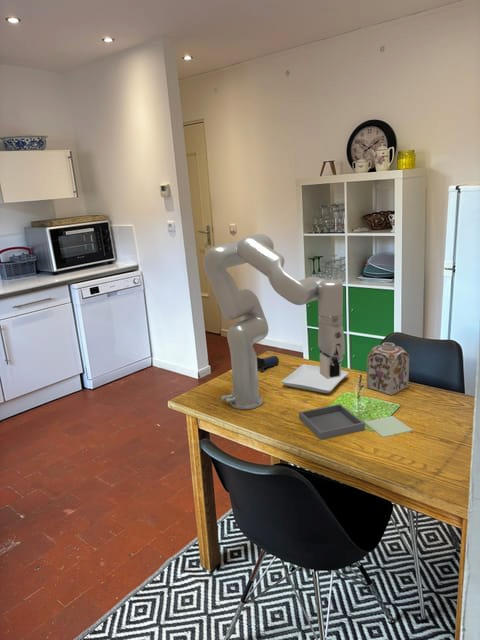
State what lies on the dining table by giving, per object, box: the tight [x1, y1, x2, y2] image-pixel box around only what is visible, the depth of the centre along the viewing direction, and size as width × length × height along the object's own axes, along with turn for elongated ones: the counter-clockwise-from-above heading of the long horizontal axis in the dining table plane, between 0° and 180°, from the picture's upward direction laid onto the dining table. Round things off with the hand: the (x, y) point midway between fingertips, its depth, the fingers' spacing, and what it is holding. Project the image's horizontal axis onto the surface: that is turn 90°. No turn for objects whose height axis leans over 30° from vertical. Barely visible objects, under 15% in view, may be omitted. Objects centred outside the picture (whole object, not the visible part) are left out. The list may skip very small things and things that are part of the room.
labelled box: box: [319, 353, 342, 379], centre depth 159 cm, size 5×5×7 cm
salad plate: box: [281, 363, 350, 394], centre depth 200 cm, size 21×21×3 cm
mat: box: [363, 415, 414, 438], centre depth 161 cm, size 11×11×1 cm
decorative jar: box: [366, 341, 410, 396], centre depth 189 cm, size 12×12×18 cm
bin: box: [298, 403, 366, 441], centre depth 164 cm, size 16×16×3 cm
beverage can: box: [257, 355, 280, 373], centre depth 220 cm, size 9×8×12 cm
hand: (330, 372), depth 159 cm, fingers closed on labelled box, 5 cm apart
